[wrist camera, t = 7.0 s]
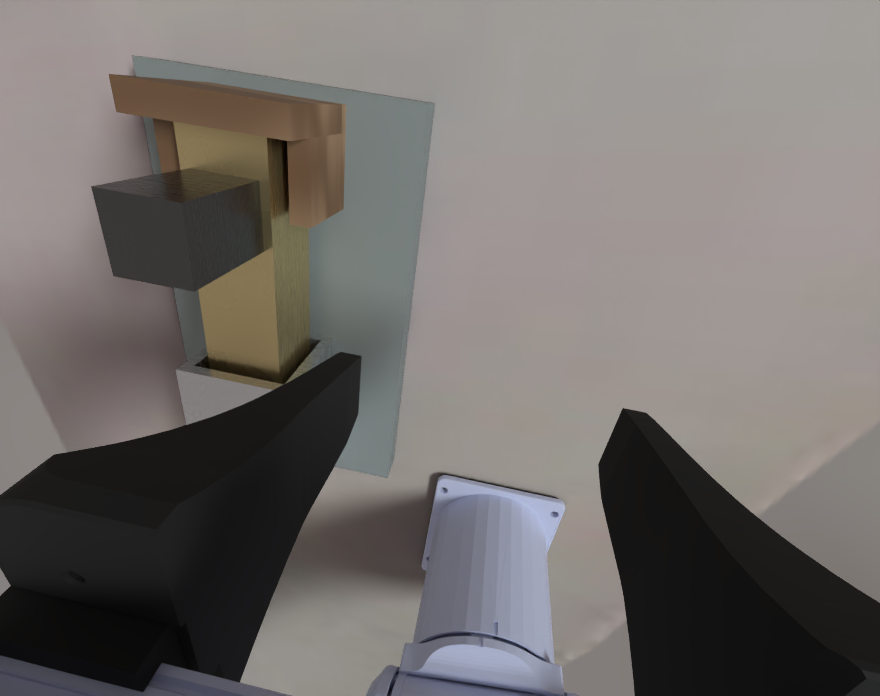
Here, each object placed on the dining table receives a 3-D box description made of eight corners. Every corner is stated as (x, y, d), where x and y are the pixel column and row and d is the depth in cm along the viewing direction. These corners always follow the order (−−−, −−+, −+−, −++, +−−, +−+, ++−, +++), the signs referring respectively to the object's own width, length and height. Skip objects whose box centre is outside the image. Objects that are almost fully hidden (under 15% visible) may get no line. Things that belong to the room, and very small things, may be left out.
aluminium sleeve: (332, 453, 26) (295, 522, 22) (252, 436, 27) (200, 501, 22) (334, 337, 22) (290, 393, 18) (240, 319, 23) (175, 369, 18)
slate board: (393, 460, 28) (387, 478, 26) (214, 422, 29) (200, 437, 27) (434, 103, 18) (428, 102, 17) (158, 59, 19) (132, 55, 17)
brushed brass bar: (310, 384, 23) (233, 488, 17) (251, 372, 23) (153, 470, 17) (307, 128, 17) (184, 141, 11) (228, 115, 17) (62, 120, 11)
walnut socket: (343, 209, 19) (292, 239, 15) (221, 187, 19) (136, 209, 15) (346, 104, 17) (288, 103, 13) (210, 82, 17) (108, 73, 13)
